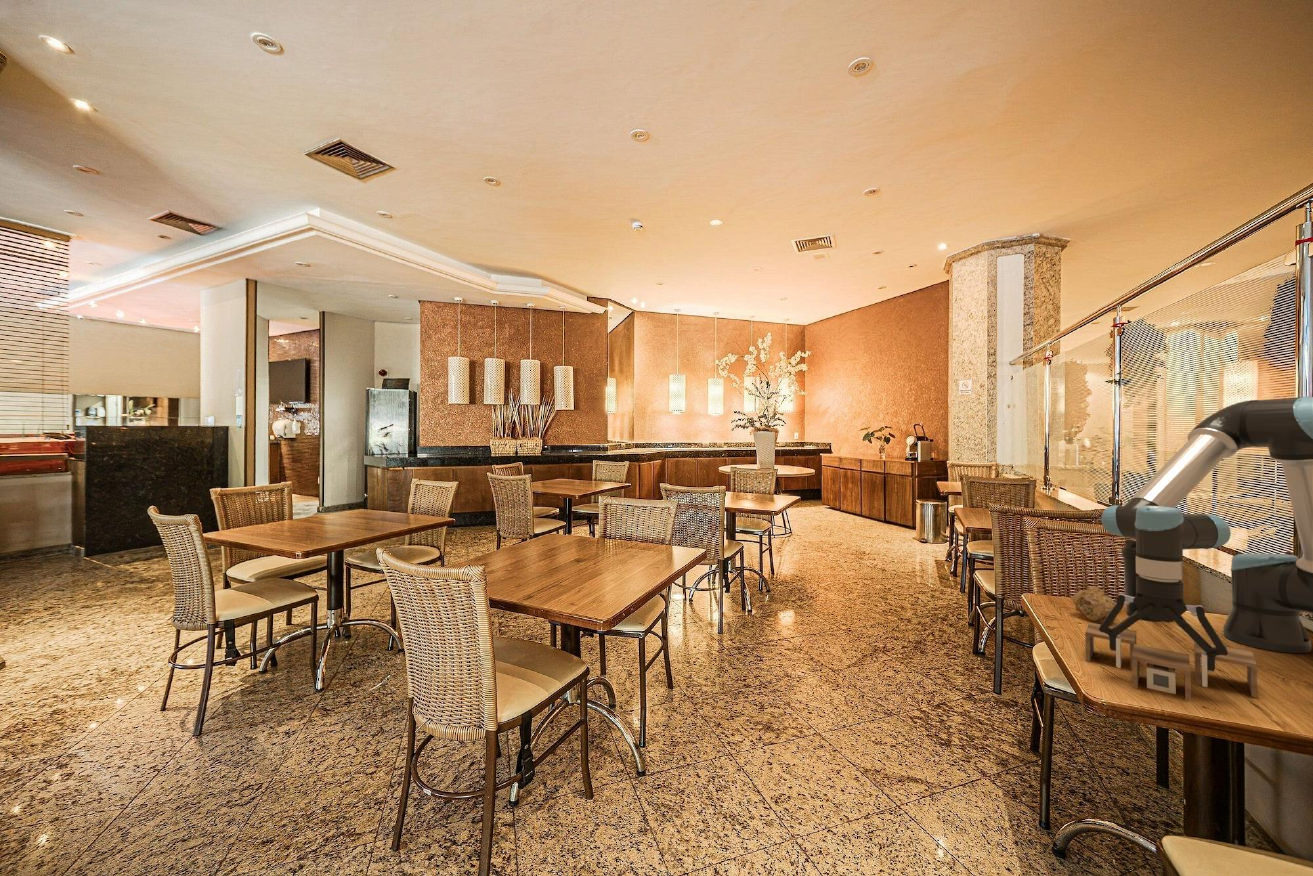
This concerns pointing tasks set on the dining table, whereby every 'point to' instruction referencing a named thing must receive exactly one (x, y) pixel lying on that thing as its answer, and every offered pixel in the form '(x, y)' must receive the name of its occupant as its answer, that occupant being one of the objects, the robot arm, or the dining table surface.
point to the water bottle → (1131, 575)
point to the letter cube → (1161, 678)
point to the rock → (1093, 603)
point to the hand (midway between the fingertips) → (1159, 675)
